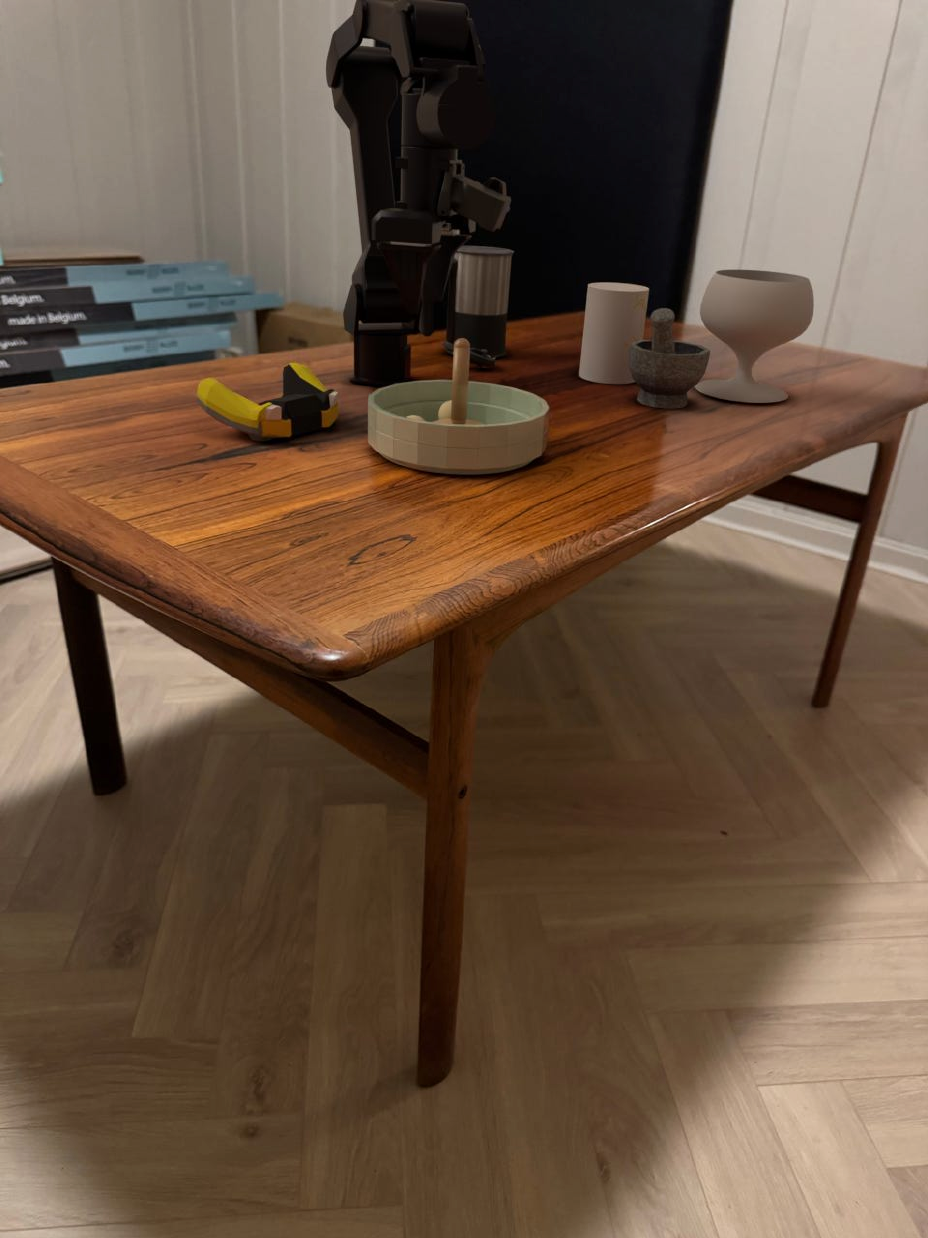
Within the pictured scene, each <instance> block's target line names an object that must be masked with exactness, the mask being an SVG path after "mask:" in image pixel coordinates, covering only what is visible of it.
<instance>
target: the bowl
mask: <svg viewBox="0 0 928 1238" xmlns="http://www.w3.org/2000/svg"><path fill="white" fill-rule="evenodd" d="M450 400H452V379H431V380H429V379H427V380H414V381H407V382H406V381H405V382H403V383H398V384H393V385H390V386H382V387H380V388H377V389H376V390H374V391H373V392H371V393H369V394H368V398H367V444H368V445H369V446H370V447H372V449H373V450H374V451H375V452H377V453H379V454H380V455H381V457H383V458H384V459H386V460H388V461H389V462H391V463H394V464H396V465H399V466H401V467H405V468H408V469H413V470H417V471H423V472H429V473H434V474H443V475H444V474H445V475H460V476H463V475H465V476H468V475H469V476H470V475H472V476H473V475H490V474H499V473H504V472H509V471H514V470H517V469H520V468H523V467H525V466H527V465H529V464H531V463H533V461H534V460H535V459H537V458H539V457H542V455H543V453H544V452H545V450H546V448H547V441H548V428H549V419H550V406H549V404H548V403H547V401H546V399H544V398H542V397H540V396H538V395H537V394H535V393H533V392H530V391H527V390H523V389H521V388H517V387H513V386H508V385H502V384H498V383H493V382H492V383H491V382H482V381H474V380H468V399H467V419H468V420H473V421H477V422H480V423H483V424H485V425H466V424H444V423H436V422H433V421H436V420H439V417H438V413H439V409H440V407H441V405H442V404H443V403H445V402H447V401H450ZM411 415H416V416H420V417H421V418H423V419H424V420H425V421H420V420H416V419H411V418H407V417H408V416H411Z"/></svg>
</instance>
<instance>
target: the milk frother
mask: <svg viewBox="0 0 928 1238" xmlns="http://www.w3.org/2000/svg"><path fill="white" fill-rule="evenodd" d="M514 253H515V250H512V249H511V248H509V249H508V248H503V247H495V246H479V245H462V246H461V247H460V248H459V249H458V250H457V251H456V253H455V256H454V260H453V263H452V266H451V270H450V274H449V277H448V288H447V290H448V291H447V309H446V328H445V329H446V330H445V340H443V342H442V343H441V346H443V347H444V348H445V351H446V352H447V353H448V354H450V355H452V356H453V353H454V343H455V341H456V340H457V339H459V338H464V339H466V340H468V342H469V344H470V357H469V363H471V364H474V365H476V368H479V369H482V368H483V365H484V364H486V365H490V366H495V364H496V359H497V358H502V357H505V356H506V355H507V354H508V351H507V350H506V344H507V343H506V342H507V321H508V307H509V296H510V295H509V294H510V282H511V281H510V280H511V269H512V268H511V267H512V257H513V255H514ZM422 296H423V302H422V307H421V314H420V321H419V328H418V330H419V333H420V334H421V335H422V336H424V337H426V338H427V337H428V338H430V337H431V336H433V333H434V302H433V301H432V299H431V296H430V292H429V289H428V285H427V281H426V277H425V278H424V284H423V290H422Z"/></svg>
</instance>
